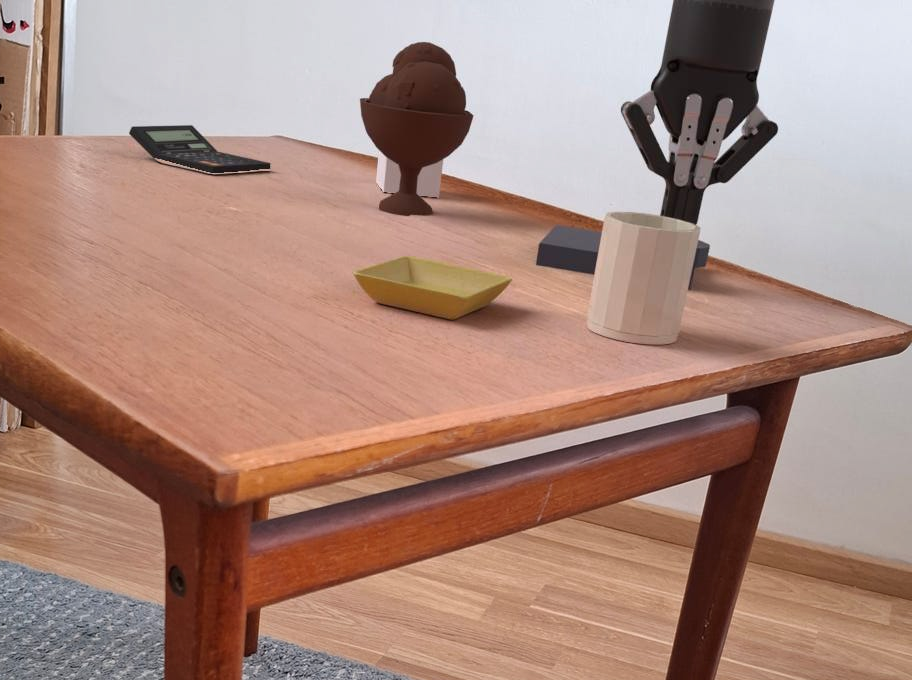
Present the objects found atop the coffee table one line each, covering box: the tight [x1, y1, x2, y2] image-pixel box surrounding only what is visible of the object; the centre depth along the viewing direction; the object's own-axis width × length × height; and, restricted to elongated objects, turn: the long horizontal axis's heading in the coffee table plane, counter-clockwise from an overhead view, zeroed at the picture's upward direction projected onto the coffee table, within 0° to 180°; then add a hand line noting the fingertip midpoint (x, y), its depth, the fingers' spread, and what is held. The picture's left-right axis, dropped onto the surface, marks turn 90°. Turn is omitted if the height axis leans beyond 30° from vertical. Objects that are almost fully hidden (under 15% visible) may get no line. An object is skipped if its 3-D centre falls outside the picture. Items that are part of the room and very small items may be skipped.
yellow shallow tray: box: [352, 255, 513, 321], centre depth 86 cm, size 9×9×2 cm
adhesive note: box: [375, 150, 444, 199], centre depth 132 cm, size 6×6×6 cm
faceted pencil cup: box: [585, 211, 701, 346], centre depth 85 cm, size 6×6×8 cm
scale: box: [535, 224, 711, 291], centre depth 107 cm, size 14×12×4 cm
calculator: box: [128, 124, 271, 173], centre depth 132 cm, size 9×12×3 cm
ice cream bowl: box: [359, 41, 474, 217], centre depth 118 cm, size 11×11×15 cm
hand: (676, 233), depth 102 cm, fingers closed
